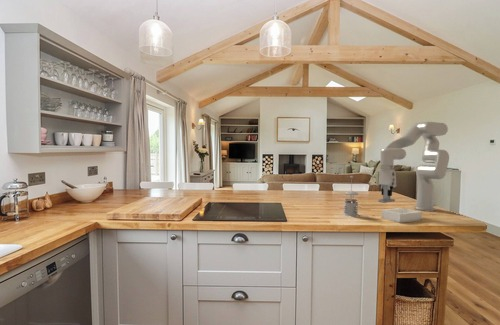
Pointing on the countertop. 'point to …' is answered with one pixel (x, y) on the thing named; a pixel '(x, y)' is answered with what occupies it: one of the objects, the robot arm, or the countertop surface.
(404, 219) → the grey shallow tray
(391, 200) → the steel bracket
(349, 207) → the french press
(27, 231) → the countertop surface
